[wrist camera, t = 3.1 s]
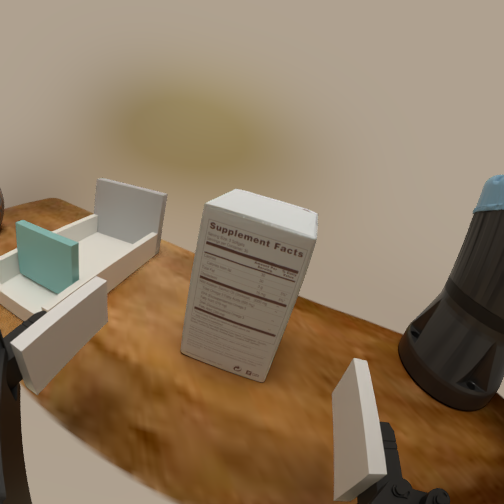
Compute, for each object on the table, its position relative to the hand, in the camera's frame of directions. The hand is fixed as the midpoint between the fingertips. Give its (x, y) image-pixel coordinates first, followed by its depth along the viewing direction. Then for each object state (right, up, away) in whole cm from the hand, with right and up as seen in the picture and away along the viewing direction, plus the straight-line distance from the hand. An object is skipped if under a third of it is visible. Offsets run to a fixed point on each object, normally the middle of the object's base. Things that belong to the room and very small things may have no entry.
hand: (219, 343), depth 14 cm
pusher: (-18, +1, +9) cm, 21 cm away
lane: (-18, +2, +15) cm, 23 cm away
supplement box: (0, -4, +11) cm, 12 cm away
